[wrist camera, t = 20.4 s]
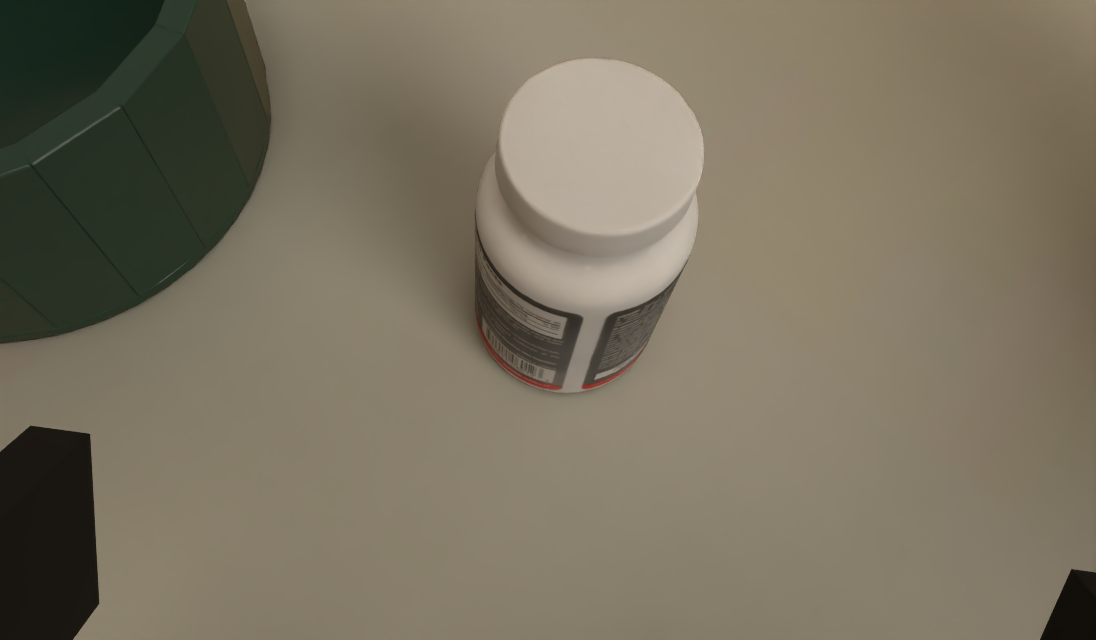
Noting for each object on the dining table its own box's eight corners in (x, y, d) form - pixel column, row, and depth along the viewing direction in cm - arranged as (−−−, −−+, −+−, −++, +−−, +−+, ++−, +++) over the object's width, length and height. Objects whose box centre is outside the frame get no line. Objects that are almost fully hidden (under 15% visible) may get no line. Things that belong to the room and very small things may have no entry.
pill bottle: (632, 229, 30) (704, 31, 21) (664, 387, 28) (758, 242, 19) (464, 244, 30) (464, 45, 21) (483, 407, 28) (492, 267, 18)
